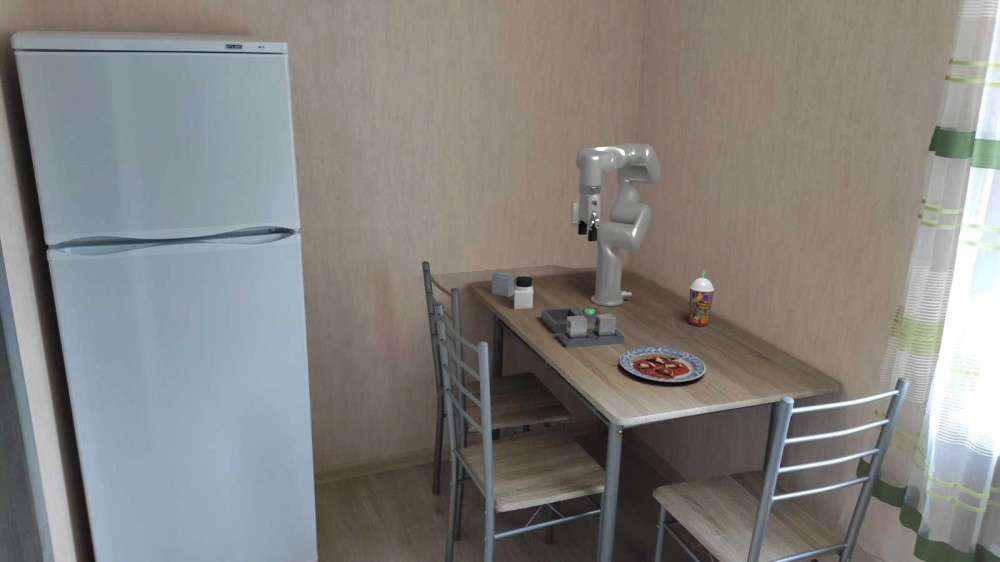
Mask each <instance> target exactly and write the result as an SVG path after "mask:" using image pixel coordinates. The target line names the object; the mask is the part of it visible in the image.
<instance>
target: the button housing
mask: <svg viewBox="0 0 1000 562" xmlns="http://www.w3.org/2000/svg"><path fill="white" fill-rule="evenodd" d="M590 308H591V307H590ZM585 309H586V308H579V309H576V313H577V314H578V315H579V316H584V317H585V318H586V319H587V325H589V324H590V325H591V324H595V321H596V315H601V314H602V313H601V312H600V311H599V310H598V309H597V308H595V307H594V308H591V309H594V310H595V312H594V314H585V313H584V310H585Z"/></svg>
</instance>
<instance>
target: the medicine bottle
mask: <svg viewBox="0 0 1000 562" xmlns="http://www.w3.org/2000/svg"><path fill="white" fill-rule="evenodd" d="M515 279H516V280H515V285H514V295H513V297H514V298H513V309H514V310H521V309H523V310H524V309H533V308H534V297H535V296H534V294H535V293H534V286H533V278H532V276H529V275H518V276H517V277H516V278H515Z"/></svg>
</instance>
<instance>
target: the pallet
mask: <svg viewBox="0 0 1000 562" xmlns="http://www.w3.org/2000/svg"><path fill="white" fill-rule="evenodd" d="M556 337H557V338H558V340H559V341H560V342H561V343H562V344H563V345H564V347H565V348H567V349H569V348H570V349H571V348H583V347H595V346H596V347H597V346H606V345H607V346H608V345H620V344H621V345H622V344H625V339H626V337H624V335H623V334H621V333H620V332H619V331H618V330H617V329H616V328H615V336H604V337H597V336H596V335H595V327H594V328H587V331H586V338H578V339H569V338H568V337H567V336H566V330H565V331H557V334H556Z"/></svg>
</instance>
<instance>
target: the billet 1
mask: <svg viewBox="0 0 1000 562" xmlns="http://www.w3.org/2000/svg"><path fill="white" fill-rule="evenodd" d="M587 329H588V324H587V319H586V318H585V317H584V316H569V317H567V330H566V336H567V337H568V338H569V339H578V338H586V331H587Z"/></svg>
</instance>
